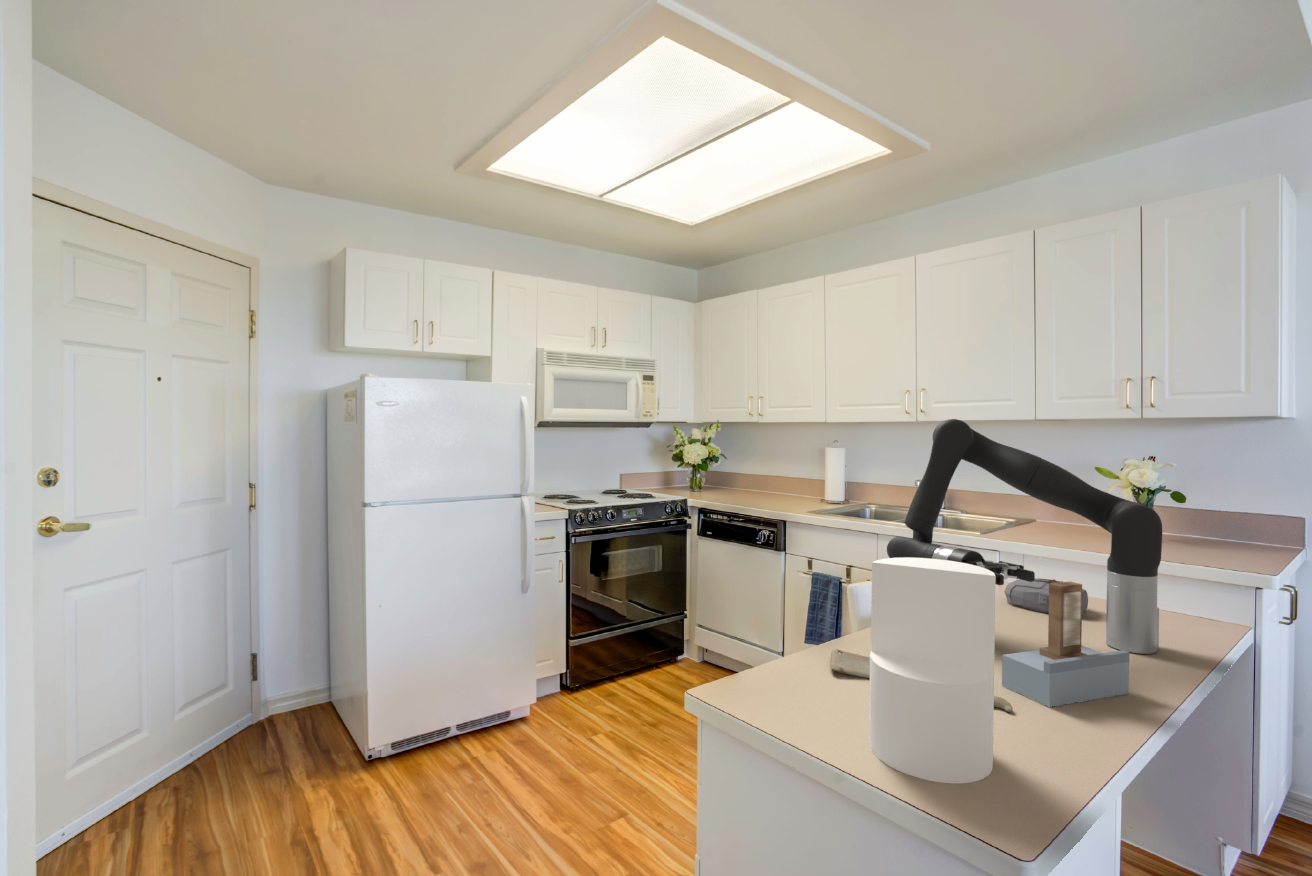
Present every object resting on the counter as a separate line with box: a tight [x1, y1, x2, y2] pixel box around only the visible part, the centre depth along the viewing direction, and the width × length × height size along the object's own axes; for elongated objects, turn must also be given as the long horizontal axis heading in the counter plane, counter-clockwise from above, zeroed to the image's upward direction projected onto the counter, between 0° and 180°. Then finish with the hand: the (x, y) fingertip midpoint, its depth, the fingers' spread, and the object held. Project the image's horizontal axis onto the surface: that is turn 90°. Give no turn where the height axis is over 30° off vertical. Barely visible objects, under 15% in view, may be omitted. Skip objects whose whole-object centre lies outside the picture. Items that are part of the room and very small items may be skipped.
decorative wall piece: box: [830, 648, 1013, 712], centre depth 126 cm, size 30×3×30 cm
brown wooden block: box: [1039, 581, 1087, 660], centre depth 119 cm, size 6×6×14 cm
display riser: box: [1001, 645, 1130, 708], centre depth 119 cm, size 20×10×8 cm, turn 109°
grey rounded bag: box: [1004, 577, 1089, 615], centre depth 176 cm, size 15×8×20 cm
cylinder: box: [868, 557, 996, 784], centre depth 95 cm, size 17×17×28 cm
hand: (1018, 578), depth 131 cm, fingers open, 8 cm apart
